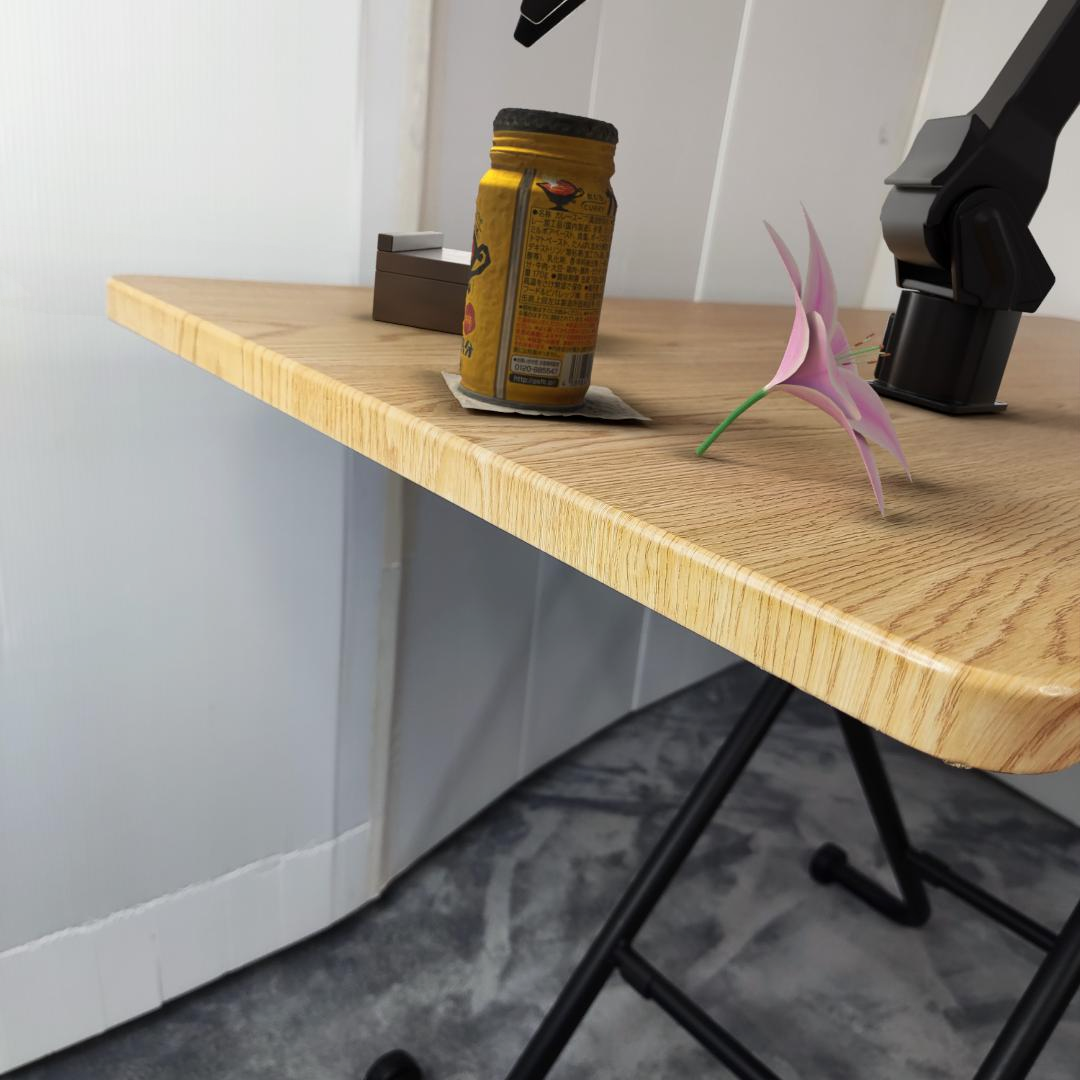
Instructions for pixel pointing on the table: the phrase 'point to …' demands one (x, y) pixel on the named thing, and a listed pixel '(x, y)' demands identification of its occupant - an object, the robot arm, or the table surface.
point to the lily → (826, 364)
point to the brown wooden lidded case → (420, 281)
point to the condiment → (540, 269)
